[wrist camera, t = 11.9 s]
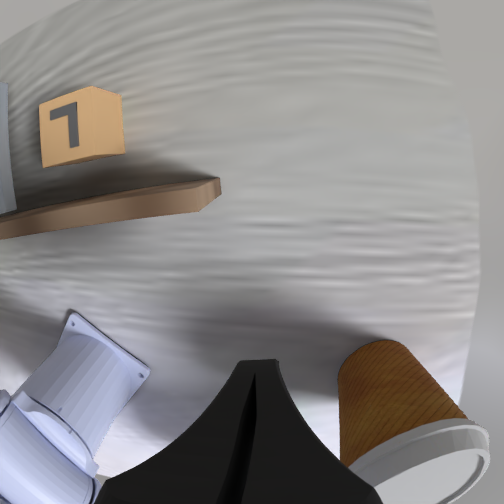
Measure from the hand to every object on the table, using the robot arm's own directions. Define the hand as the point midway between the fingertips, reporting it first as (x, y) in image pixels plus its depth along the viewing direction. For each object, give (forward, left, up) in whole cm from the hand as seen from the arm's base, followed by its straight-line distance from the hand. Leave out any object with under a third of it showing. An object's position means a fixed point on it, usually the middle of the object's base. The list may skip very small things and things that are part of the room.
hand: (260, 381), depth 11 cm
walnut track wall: (-4, +13, -10) cm, 17 cm away
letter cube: (+1, +15, -10) cm, 18 cm away
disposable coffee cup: (-1, -12, -11) cm, 16 cm away
